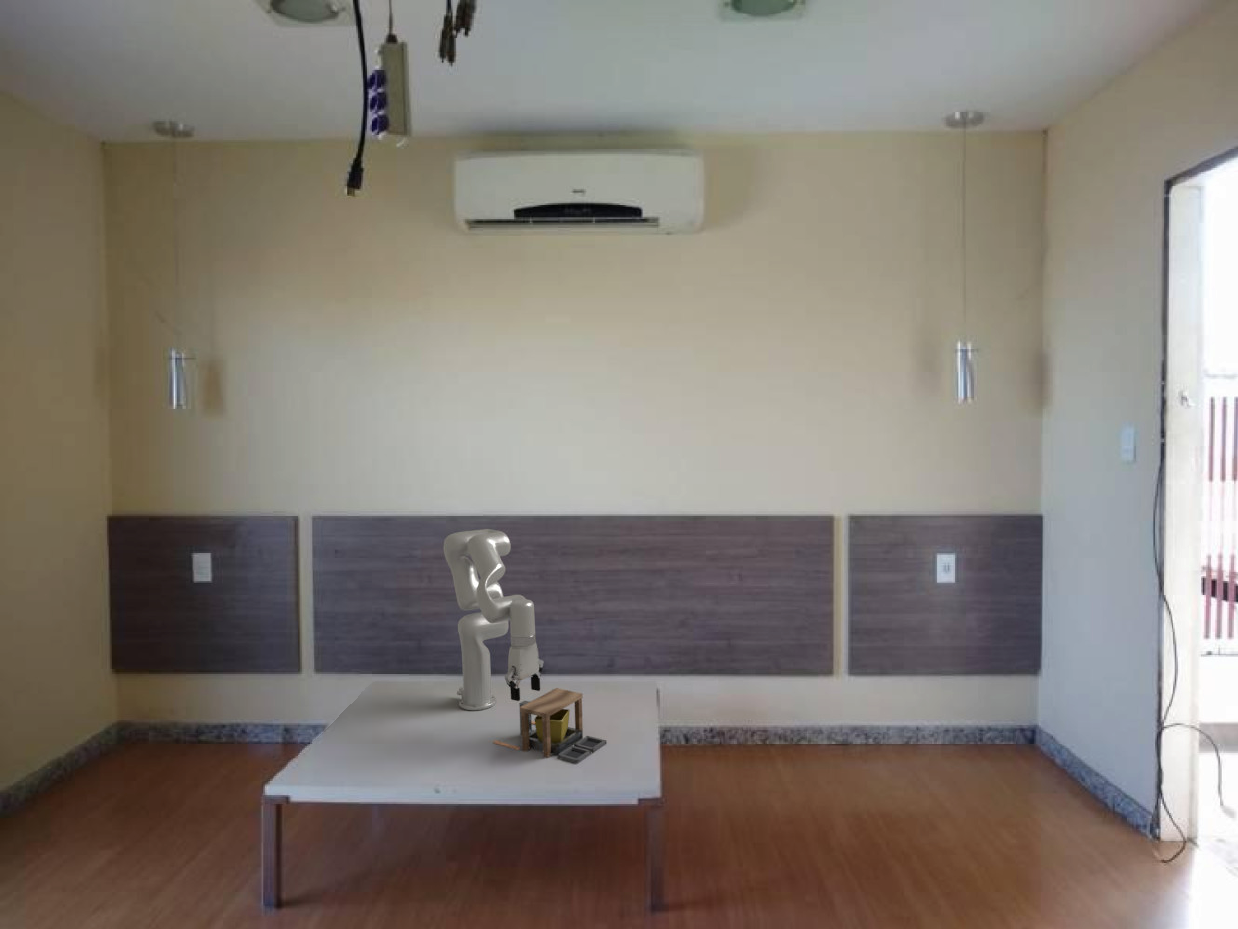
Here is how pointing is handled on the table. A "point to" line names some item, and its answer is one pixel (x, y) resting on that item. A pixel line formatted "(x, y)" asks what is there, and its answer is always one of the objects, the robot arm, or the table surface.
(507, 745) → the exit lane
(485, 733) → the table surface
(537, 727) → the flower pot
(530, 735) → the grey tray with upright
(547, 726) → the small wooden table
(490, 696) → the robot arm
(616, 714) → the table surface
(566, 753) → the frames
